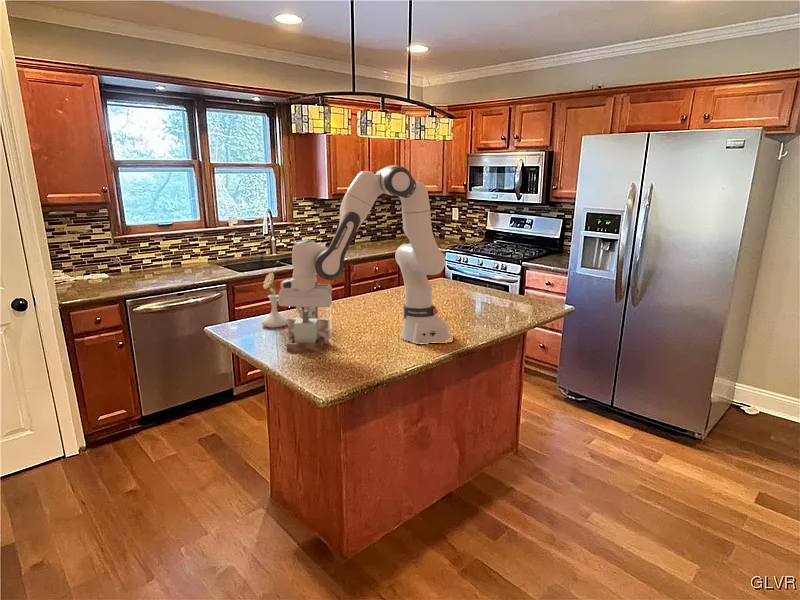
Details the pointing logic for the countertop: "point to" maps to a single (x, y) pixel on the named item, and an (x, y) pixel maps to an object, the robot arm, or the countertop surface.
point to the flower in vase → (273, 306)
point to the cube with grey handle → (306, 329)
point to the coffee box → (314, 312)
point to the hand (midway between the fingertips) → (305, 317)
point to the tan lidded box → (308, 347)
